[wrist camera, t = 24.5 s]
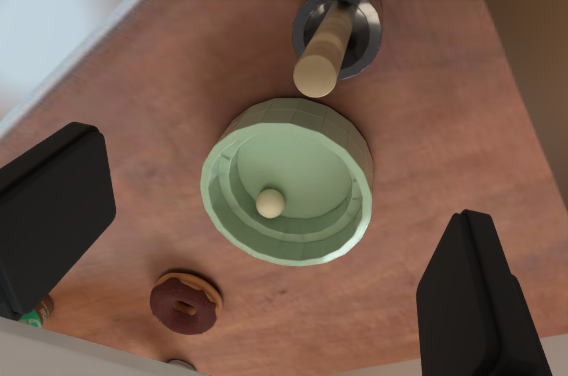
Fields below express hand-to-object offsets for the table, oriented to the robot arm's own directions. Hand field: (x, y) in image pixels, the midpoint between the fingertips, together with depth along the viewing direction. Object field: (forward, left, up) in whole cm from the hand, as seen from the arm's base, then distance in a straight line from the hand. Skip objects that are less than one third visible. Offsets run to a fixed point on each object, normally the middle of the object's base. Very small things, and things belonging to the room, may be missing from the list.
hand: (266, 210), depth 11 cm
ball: (+14, -12, -24) cm, 30 cm away
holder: (0, 0, -26) cm, 26 cm away
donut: (+27, -31, -26) cm, 49 cm away
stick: (0, 0, -25) cm, 25 cm away
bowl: (+12, -9, -26) cm, 30 cm away
